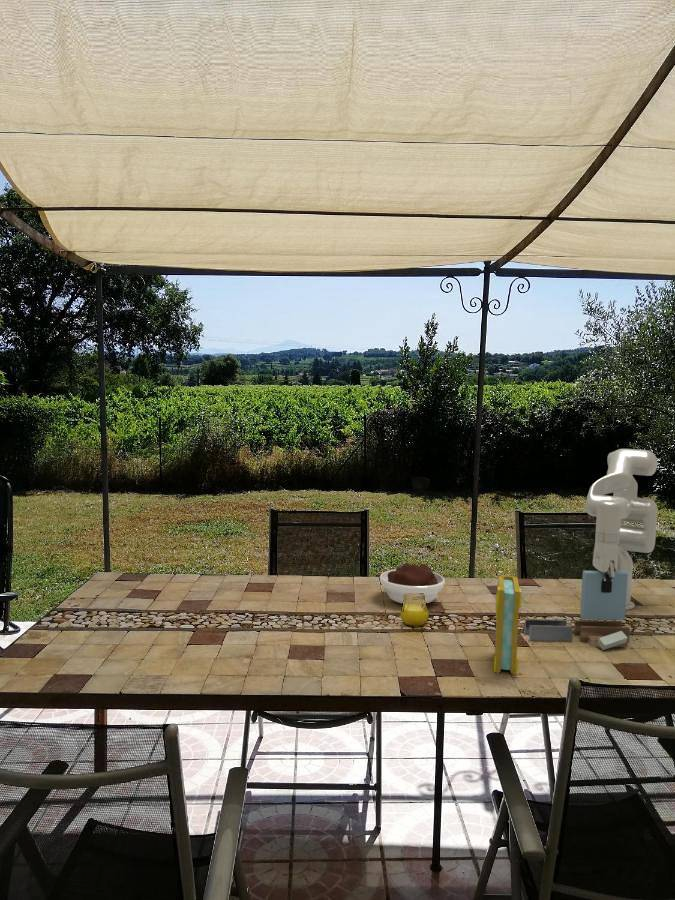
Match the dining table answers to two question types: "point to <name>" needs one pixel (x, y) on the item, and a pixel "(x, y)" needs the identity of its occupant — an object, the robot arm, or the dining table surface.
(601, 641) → the offcut upper
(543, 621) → the grey rack
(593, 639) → the offcut lower
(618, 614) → the tall sheet
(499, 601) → the book
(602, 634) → the walnut rack
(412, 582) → the bowl of chocolate mousse
